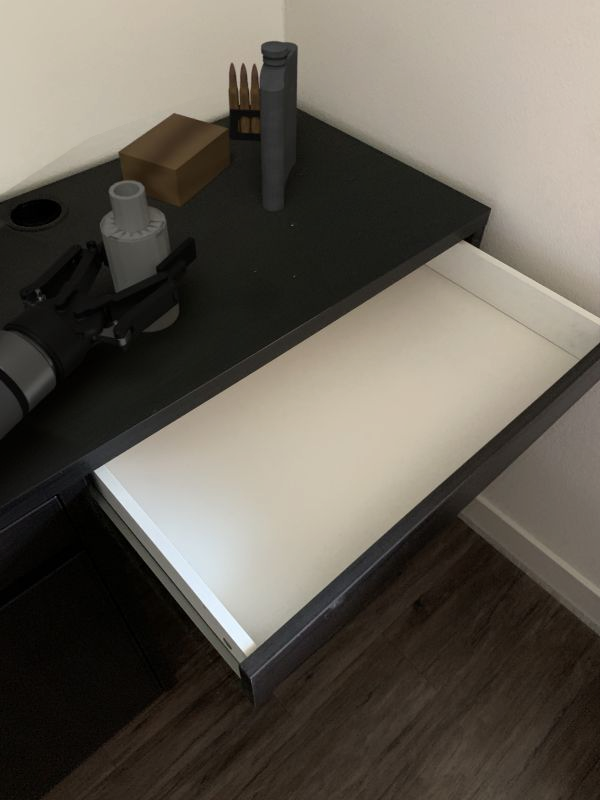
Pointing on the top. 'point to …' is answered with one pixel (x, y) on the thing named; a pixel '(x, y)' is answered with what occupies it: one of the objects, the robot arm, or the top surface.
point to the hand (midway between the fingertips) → (165, 237)
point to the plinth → (176, 158)
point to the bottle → (135, 241)
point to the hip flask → (277, 119)
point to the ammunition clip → (244, 105)
